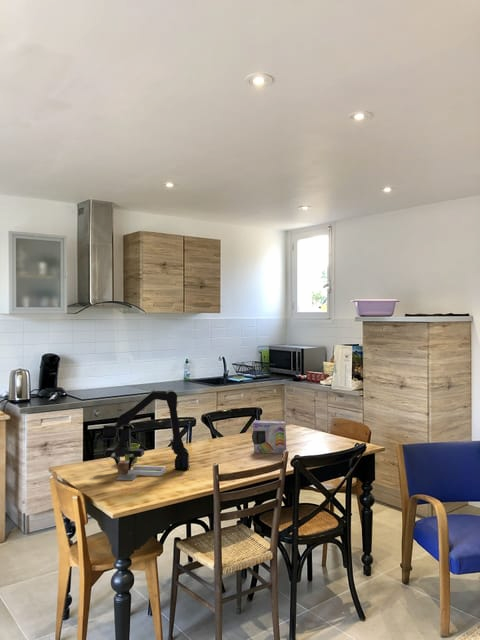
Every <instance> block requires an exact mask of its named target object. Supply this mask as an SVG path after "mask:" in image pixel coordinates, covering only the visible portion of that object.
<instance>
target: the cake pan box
mask: <svg viewBox="0 0 480 640" xmlns="http://www.w3.org/2000/svg"><path fill="white" fill-rule="evenodd" d="M252 426H253V427H252V428H253V429H252V433H251V440H252V442H253V443H252V444H253V452H254V453H258V454H259V453H260V454H261V453H263V454H280V455H281V454H283V451H284V450H287V434H286V433H287V432H286V421H278V420H277V421H276V420H257V419H255V420H254V421H253V422H252ZM283 455H284V454H283Z"/></svg>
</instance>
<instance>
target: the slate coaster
mask: <svg viewBox="0 0 480 640" xmlns="http://www.w3.org/2000/svg"><path fill="white" fill-rule="evenodd" d="M138 476H139V475H135V474H125V473H120V474H119V476H117V477H116V478H115V481H121V482H122V481H123V482H124V481H126V482H133V481H134V480H135V479H136V478H137V477H138Z"/></svg>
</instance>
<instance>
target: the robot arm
mask: <svg viewBox="0 0 480 640" xmlns="http://www.w3.org/2000/svg"><path fill="white" fill-rule="evenodd" d="M154 400H160V401H164V402H165V401H166V404H167V407H168V409H169V410H168V411H169V417H170V424H171V430H172V439H169V441H170V448H171V450H172V451H173V453H174V454H175V455H176V456H175V459H174V470H175V471H189V468H190V467H191V465H190V454H189V450H188V449H187V448H186V447H185V446H184V442H183V440H182V439H183V438H182V436H181V432H180V423H179V417H178V410H177V407H178V406H177V405H178V394H177V393H176V391H175V390H173V389H169V390H166V391H165V390H155V389H153V390H151V391H150V393H148V394H147V395H146V396H144V397H143V398H142V399H141V400H139V401H138V402H137V403H136V404H135V405H133V406H132V407H130V408H128V409H126V410H125V411H123V412H121V413H120V414H119V415H118V419H117V421H116V422H115V424H111V425H108V424H104V425H103V426H102V427H103V431H102V439H103V440H115V439H116V438H117V437H118V441H117V445H116V446H115V447H108V448H107V449H105V450H104V457H110V459H113V460H114V462H115V464H116V467H117V468H118V463H119V462H120V461H121V458H125V454H130V455H131V456H130V457H129V470H130V469H131V470H132V468H133V466H132V465H133V464H134V463H133V461H134V459H135V458H136V457H137V458H141V457H143V456H144V455H145V449H144V448H139V449H135V450H134V451H130V450H131V447H130V444H131V441H132V439H131V430H134V429H135V426H133V425H132V423H131V421H132V420H133V419H134V418H135V417H136V415H137V414H139V413H140V412H141V411H143V409H145V408H146V407H147V406H149V404H151V403H152V402H153V401H154Z"/></svg>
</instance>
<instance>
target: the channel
mask: <svg viewBox="0 0 480 640" xmlns="http://www.w3.org/2000/svg"><path fill="white" fill-rule="evenodd" d="M132 468H133V469H131V470H128V474H135V475H138V476H148V477H149V476H153V477H154V476H155V477H162V476H163V475H164V474H165V473H166V472H167V466H165V465H163V466H161V465H160V466H159V465H133V466H132Z"/></svg>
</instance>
